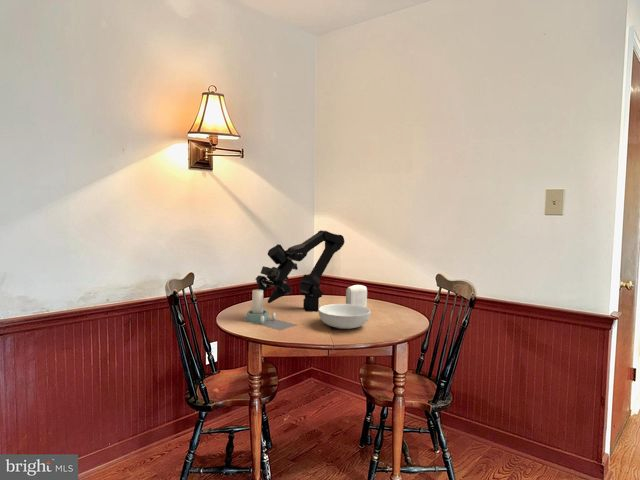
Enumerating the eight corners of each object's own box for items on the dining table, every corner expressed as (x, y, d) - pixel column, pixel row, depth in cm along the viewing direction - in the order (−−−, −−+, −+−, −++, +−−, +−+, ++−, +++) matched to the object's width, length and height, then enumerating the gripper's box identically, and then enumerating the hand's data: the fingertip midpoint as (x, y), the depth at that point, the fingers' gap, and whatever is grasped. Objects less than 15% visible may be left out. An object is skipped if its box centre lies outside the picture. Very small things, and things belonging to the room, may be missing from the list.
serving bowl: (380, 329, 174) (381, 312, 173) (335, 336, 164) (335, 318, 163) (351, 316, 192) (351, 301, 191) (308, 322, 182) (309, 306, 181)
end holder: (268, 316, 187) (268, 309, 187) (267, 322, 178) (267, 314, 178) (248, 316, 186) (248, 309, 186) (246, 322, 178) (246, 314, 178)
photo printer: (361, 309, 205) (362, 283, 204) (367, 311, 201) (368, 284, 200) (344, 312, 199) (344, 285, 198) (349, 314, 195) (350, 286, 194)
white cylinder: (265, 318, 184) (265, 289, 183) (260, 321, 180) (260, 292, 179) (255, 317, 185) (255, 289, 184) (250, 320, 181) (250, 291, 180)
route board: (297, 326, 176) (297, 317, 175) (280, 331, 168) (280, 322, 167) (257, 315, 190) (257, 307, 189) (239, 320, 182) (239, 312, 182)
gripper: (259, 256, 192) (237, 285, 185) (286, 261, 178) (263, 292, 172) (273, 272, 198) (253, 300, 192) (300, 278, 184) (279, 309, 178)
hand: (261, 300), depth 183 cm, fingers open, 9 cm apart
